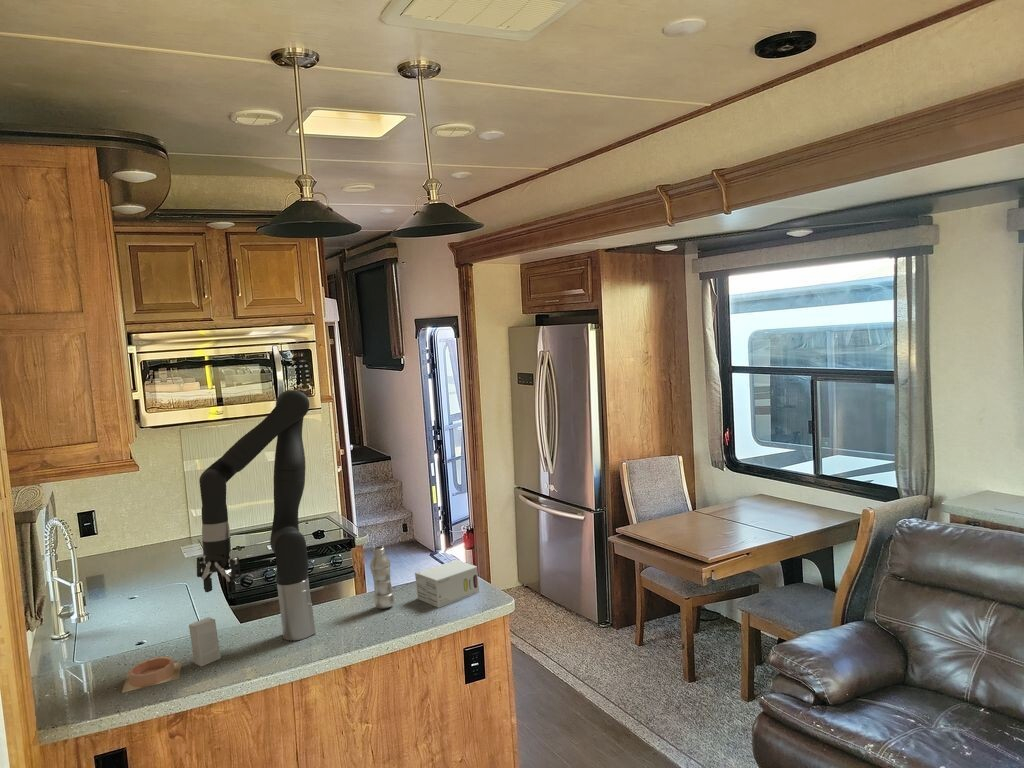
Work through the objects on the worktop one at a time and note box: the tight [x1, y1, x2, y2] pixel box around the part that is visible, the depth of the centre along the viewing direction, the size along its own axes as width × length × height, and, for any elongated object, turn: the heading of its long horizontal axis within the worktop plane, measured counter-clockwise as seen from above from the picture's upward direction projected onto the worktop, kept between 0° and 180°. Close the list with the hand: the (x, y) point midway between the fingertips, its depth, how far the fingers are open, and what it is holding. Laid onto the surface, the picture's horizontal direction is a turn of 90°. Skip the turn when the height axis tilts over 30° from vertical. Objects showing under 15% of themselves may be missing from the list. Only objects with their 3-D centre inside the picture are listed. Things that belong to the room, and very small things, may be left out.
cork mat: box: [121, 661, 182, 693], centre depth 197 cm, size 14×12×1 cm
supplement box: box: [414, 559, 480, 609], centre depth 238 cm, size 17×13×9 cm
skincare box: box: [188, 616, 222, 667], centre depth 204 cm, size 6×4×12 cm
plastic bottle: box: [369, 545, 396, 610], centre depth 233 cm, size 6×7×20 cm
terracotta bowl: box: [128, 656, 175, 687], centre depth 197 cm, size 11×11×3 cm
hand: (219, 592), depth 208 cm, fingers open, 8 cm apart
